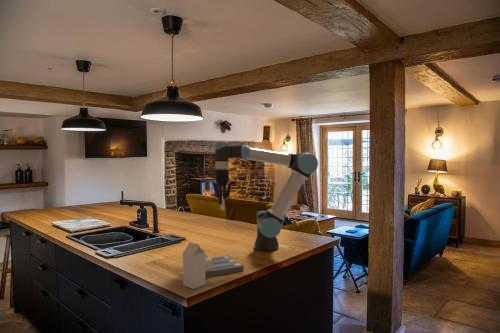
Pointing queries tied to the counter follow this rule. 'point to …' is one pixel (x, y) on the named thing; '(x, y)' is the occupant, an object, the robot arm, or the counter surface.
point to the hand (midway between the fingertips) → (222, 209)
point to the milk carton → (193, 266)
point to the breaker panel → (221, 266)
